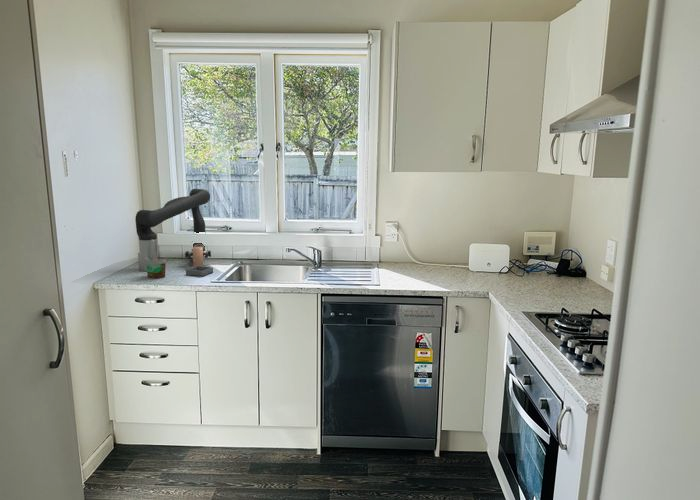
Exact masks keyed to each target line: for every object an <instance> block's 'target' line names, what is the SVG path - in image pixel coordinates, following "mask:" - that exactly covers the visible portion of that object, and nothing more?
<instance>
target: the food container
mask: <svg viewBox="0 0 700 500" xmlns="http://www.w3.org/2000/svg"><path fill="white" fill-rule="evenodd" d="M167 262H168V261H167V259H166V258H163V259H159V258H158V259H148V257H146V258H145V261H144V263H146V268H147V271H146V273H147V274H146V275H147V278H148V279H152V280H153V279H154V280H156V279H164V278H165V277H166V268H167V265H166V264H167Z"/></svg>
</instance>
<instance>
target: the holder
mask: <svg viewBox="0 0 700 500" xmlns="http://www.w3.org/2000/svg"><path fill="white" fill-rule="evenodd" d="M213 273H214V267H212V266H204V265H203V266H195V267H193V266H192V267H190V268H187V269H185V276H191V277H200V278H204V277H206V276H209V275H211V274H213Z"/></svg>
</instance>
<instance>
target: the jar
mask: <svg viewBox="0 0 700 500" xmlns="http://www.w3.org/2000/svg"><path fill="white" fill-rule="evenodd" d="M195 266H204V257H203V247H201V246H196V247H193V257H192V267H195Z"/></svg>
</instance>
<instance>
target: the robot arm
mask: <svg viewBox="0 0 700 500" xmlns="http://www.w3.org/2000/svg"><path fill="white" fill-rule="evenodd" d="M210 200H211V194H210V192H209V190H207V189H203V188H192V189H191V190H190V191H189V195H187V196H181V197H176V198H173V199H171V200H169V201H167V202H166V203H165V204H164V205H163V207H161V208H158V209H154V210H148V209H141V210H140V209H139V210H138V211H137V212H136V214H135V217H134V218H135V229H136V234H137V237H138V249H139V250H138V251H139V252H138V253H137V255H138V256H137V257H138V260H137V261H138V270H139V271H142V272H147V268H146V263H144V261H145V258H146V257H148V259H159V256H158V255H159V254H158V235H157V233H156V232H155V231H153V230H152V228H154V227H157V226H158V225H160V224H161V223H164V222H165V221H167V220H168V219H171V218H174V217H176V216H179V215H180V214H181V215H182V214H183V213H185V212H187V211H189V210H191V215H192V219H193V233H194V232H196V233H199V232H205V233H206V222H205V219H204V217H203V215H202V213H201V210H200V206H203V205H205V204H208V203H209V201H210ZM196 246H201V247H203V258H205V259H206V258H208V257H212V251H211V250H207V251H205V246H204V245H203V244H202V243H194V244H193V247H196ZM184 257H185V258H188V259H191V258H193V249H191V250H190V251H188V250H186V251H185V252H184Z"/></svg>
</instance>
